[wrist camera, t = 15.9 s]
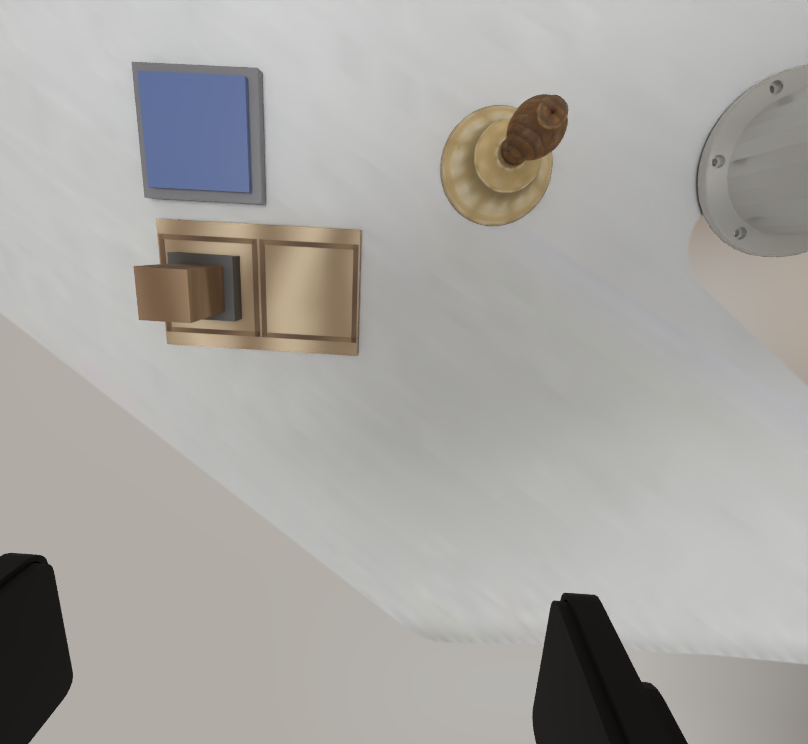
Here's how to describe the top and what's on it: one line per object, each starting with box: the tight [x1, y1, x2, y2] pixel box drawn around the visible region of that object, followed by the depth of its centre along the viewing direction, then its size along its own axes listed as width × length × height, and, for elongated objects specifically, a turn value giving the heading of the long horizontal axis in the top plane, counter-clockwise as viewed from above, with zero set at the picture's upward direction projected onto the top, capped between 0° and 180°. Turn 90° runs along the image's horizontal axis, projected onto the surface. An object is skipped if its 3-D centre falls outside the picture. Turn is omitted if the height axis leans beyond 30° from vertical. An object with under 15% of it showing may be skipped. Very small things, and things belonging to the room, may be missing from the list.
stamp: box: [134, 252, 242, 323], centre depth 33 cm, size 5×5×7 cm
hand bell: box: [441, 94, 568, 226], centre depth 26 cm, size 8×8×16 cm
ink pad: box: [132, 62, 266, 205], centre depth 33 cm, size 9×9×2 cm
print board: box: [156, 219, 361, 356], centre depth 37 cm, size 16×10×1 cm, turn 87°
